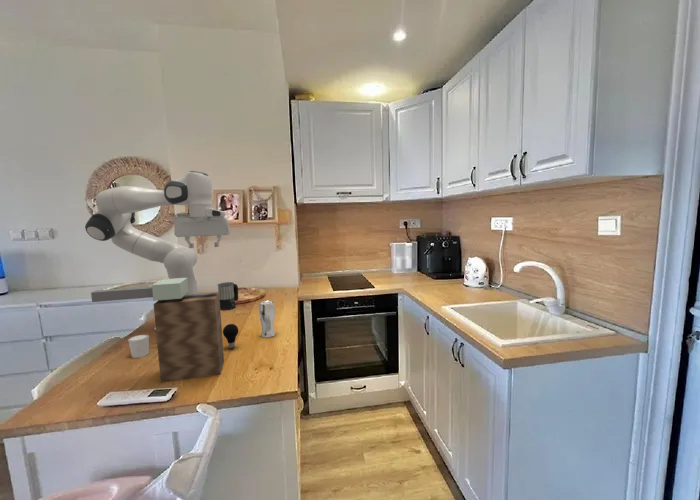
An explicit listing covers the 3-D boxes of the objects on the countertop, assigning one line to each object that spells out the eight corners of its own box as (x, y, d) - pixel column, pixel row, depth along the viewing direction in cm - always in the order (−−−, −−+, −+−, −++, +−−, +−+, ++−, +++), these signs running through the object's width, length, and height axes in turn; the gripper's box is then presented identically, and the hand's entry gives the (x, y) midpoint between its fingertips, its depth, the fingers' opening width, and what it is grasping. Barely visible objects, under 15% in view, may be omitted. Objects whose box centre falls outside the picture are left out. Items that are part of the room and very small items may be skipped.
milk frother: (231, 310, 183) (230, 285, 181) (205, 310, 183) (203, 285, 182) (240, 303, 197) (239, 280, 195) (215, 304, 197) (214, 280, 196)
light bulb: (230, 352, 125) (228, 327, 124) (221, 349, 128) (219, 325, 127) (242, 346, 129) (241, 323, 128) (233, 344, 133) (231, 321, 132)
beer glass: (272, 338, 138) (270, 305, 136) (257, 337, 139) (255, 304, 137) (278, 332, 144) (277, 300, 143) (264, 332, 146) (262, 300, 144)
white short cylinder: (136, 351, 128) (134, 334, 127) (154, 350, 128) (152, 333, 128) (125, 359, 121) (123, 341, 120) (144, 357, 122) (142, 340, 121)
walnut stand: (160, 382, 102) (153, 301, 100) (169, 368, 112) (163, 294, 109) (220, 374, 107) (214, 296, 104) (224, 361, 117) (218, 290, 114)
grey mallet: (86, 306, 95) (84, 290, 95) (102, 298, 105) (100, 283, 104) (181, 298, 102) (180, 283, 101) (188, 291, 111) (187, 277, 111)
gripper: (170, 213, 120) (173, 249, 122) (227, 212, 125) (229, 246, 127) (174, 213, 126) (177, 248, 128) (229, 212, 131) (231, 245, 133)
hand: (204, 247), depth 127 cm, fingers open, 8 cm apart
